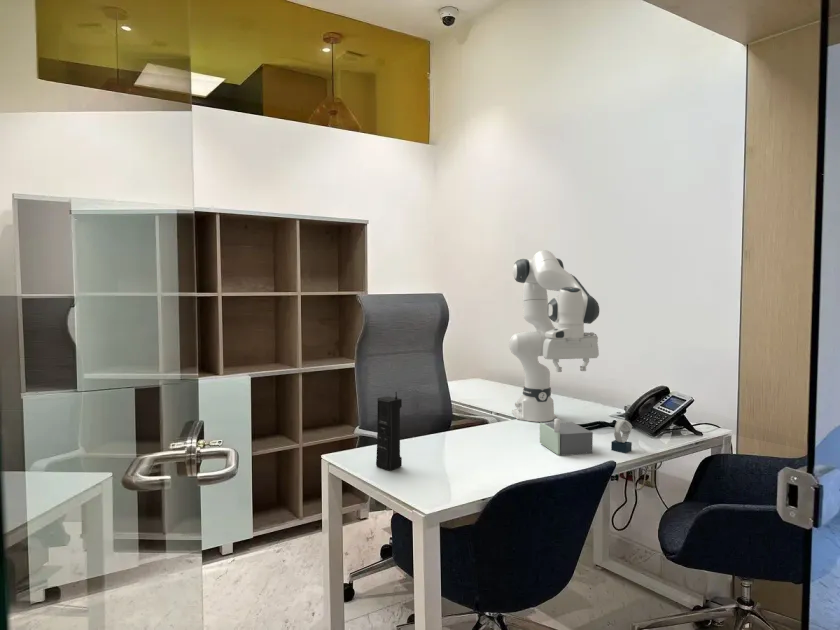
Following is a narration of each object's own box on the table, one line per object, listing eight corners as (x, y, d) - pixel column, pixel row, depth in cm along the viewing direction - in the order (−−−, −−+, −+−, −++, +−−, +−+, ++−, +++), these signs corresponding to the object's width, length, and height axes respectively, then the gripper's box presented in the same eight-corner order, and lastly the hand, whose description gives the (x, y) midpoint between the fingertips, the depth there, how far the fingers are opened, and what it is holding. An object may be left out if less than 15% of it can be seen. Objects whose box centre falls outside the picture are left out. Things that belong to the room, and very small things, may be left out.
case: (542, 443, 204) (542, 423, 204) (572, 441, 207) (572, 422, 206) (560, 455, 190) (561, 434, 189) (592, 453, 192) (592, 432, 192)
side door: (538, 442, 204) (538, 410, 203) (543, 442, 204) (543, 410, 204) (556, 454, 189) (556, 420, 189) (561, 454, 190) (561, 420, 189)
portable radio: (372, 465, 179) (372, 390, 178) (386, 461, 183) (386, 388, 182) (388, 471, 173) (388, 393, 172) (402, 467, 178) (402, 391, 176)
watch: (633, 449, 196) (634, 419, 196) (624, 454, 191) (624, 423, 190) (618, 446, 200) (619, 417, 200) (608, 451, 195) (609, 420, 194)
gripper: (592, 331, 199) (593, 369, 199) (540, 332, 195) (540, 371, 195) (602, 332, 193) (602, 371, 193) (548, 333, 188) (548, 373, 189)
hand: (571, 371), depth 194 cm, fingers open, 8 cm apart
